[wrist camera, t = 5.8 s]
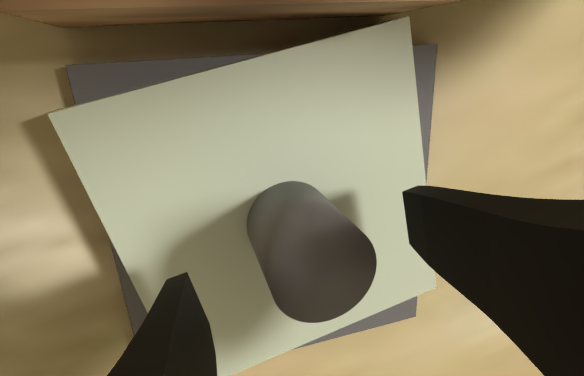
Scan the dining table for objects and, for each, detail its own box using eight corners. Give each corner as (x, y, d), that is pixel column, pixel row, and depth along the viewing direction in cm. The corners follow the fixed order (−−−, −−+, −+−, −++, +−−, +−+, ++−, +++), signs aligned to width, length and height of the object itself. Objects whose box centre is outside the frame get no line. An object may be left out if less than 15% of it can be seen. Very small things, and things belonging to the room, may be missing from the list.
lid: (395, 18, 12) (495, 0, 9) (425, 277, 17) (500, 344, 13) (55, 110, 10) (-15, 141, 7) (187, 377, 15) (191, 491, 11)
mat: (430, 44, 14) (437, 43, 13) (410, 311, 18) (415, 316, 17) (69, 65, 11) (65, 65, 10) (147, 379, 15) (147, 388, 14)
